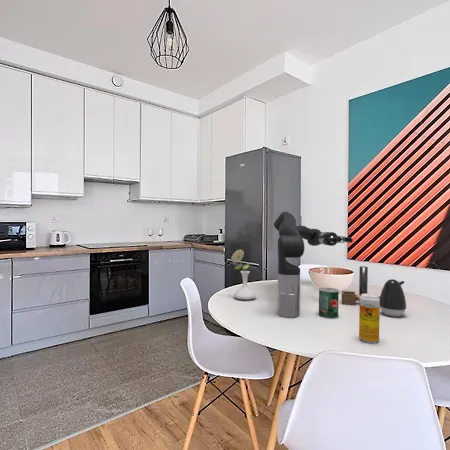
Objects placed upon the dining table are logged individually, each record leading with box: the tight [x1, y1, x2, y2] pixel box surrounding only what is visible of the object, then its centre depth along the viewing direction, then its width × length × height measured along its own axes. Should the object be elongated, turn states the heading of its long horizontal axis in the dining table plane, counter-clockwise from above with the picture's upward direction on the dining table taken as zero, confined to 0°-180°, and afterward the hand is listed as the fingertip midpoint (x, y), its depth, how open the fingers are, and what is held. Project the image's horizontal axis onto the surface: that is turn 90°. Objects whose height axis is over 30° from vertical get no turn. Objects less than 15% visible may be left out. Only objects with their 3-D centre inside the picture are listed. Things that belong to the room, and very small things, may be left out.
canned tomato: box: [318, 287, 340, 320], centre depth 131 cm, size 8×8×11 cm
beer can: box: [358, 293, 381, 344], centre depth 104 cm, size 6×6×15 cm
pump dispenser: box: [380, 278, 407, 318], centre depth 133 cm, size 10×10×15 cm
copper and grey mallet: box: [355, 265, 380, 304], centre depth 149 cm, size 4×16×17 cm, turn 71°
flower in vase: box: [230, 249, 257, 300], centre depth 158 cm, size 13×11×25 cm
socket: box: [341, 290, 357, 306], centre depth 152 cm, size 7×6×5 cm
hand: (344, 240), depth 161 cm, fingers open, 8 cm apart
